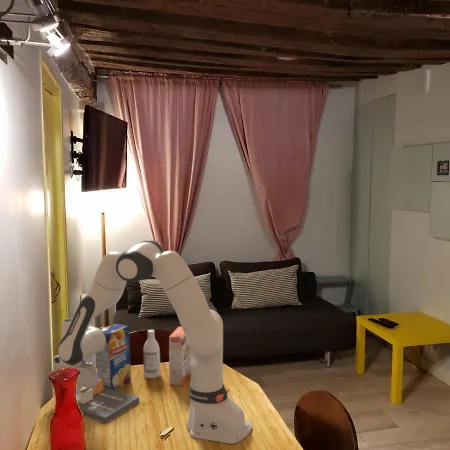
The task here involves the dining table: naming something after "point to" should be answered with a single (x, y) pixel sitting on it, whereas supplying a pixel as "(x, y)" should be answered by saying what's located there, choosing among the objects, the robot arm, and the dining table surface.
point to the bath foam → (151, 356)
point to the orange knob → (98, 387)
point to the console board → (107, 404)
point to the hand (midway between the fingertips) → (76, 394)
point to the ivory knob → (85, 395)
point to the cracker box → (179, 357)
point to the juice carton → (115, 357)
